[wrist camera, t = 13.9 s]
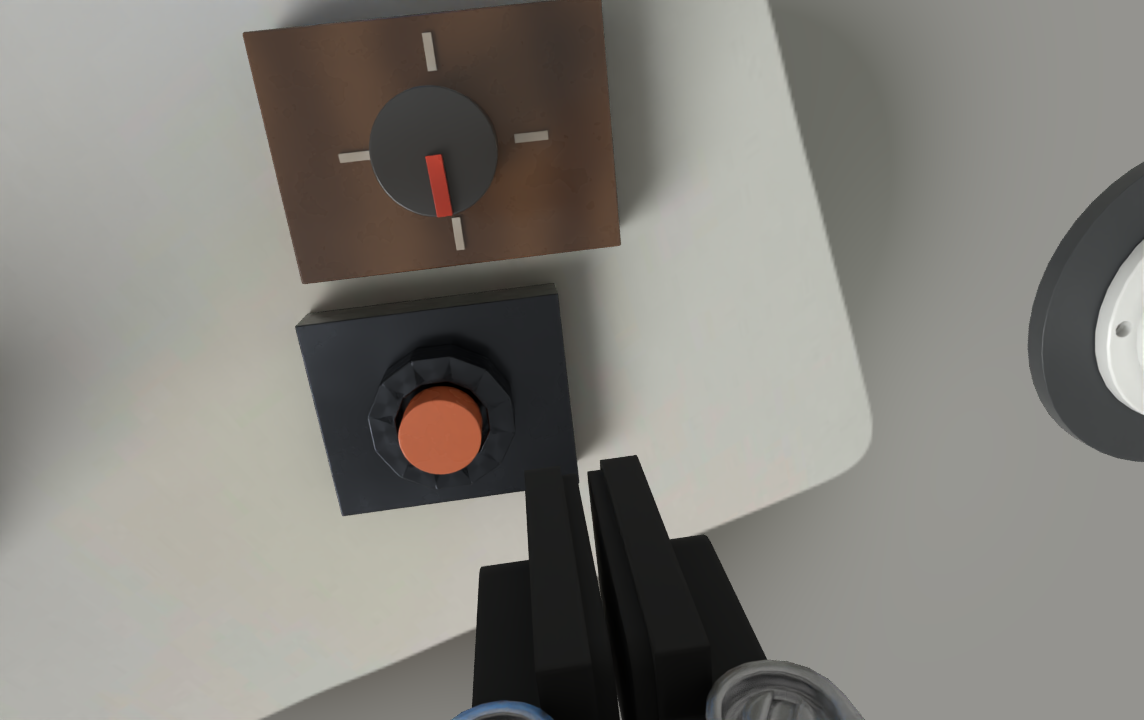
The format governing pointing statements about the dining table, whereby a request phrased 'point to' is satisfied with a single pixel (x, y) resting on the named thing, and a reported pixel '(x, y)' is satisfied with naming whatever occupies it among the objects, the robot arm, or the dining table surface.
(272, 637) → the dining table surface
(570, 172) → the dial panel
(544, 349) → the black button base
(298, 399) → the dining table surface
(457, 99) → the dial
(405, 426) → the push knob
